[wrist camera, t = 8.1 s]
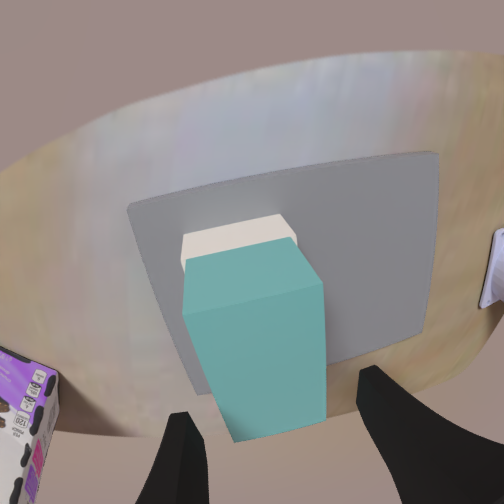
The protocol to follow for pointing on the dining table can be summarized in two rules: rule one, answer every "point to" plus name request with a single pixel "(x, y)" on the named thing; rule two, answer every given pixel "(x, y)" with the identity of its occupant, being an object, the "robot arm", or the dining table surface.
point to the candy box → (25, 425)
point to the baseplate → (309, 243)
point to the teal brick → (259, 336)
